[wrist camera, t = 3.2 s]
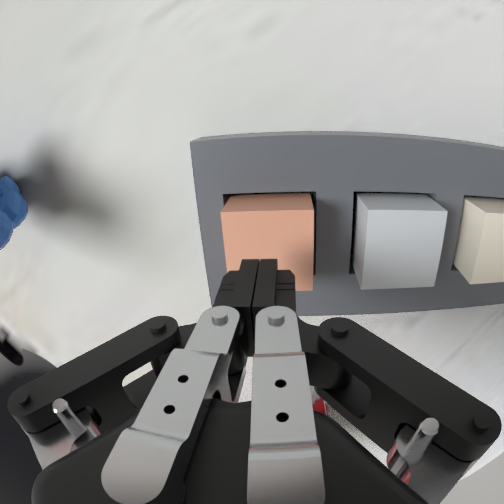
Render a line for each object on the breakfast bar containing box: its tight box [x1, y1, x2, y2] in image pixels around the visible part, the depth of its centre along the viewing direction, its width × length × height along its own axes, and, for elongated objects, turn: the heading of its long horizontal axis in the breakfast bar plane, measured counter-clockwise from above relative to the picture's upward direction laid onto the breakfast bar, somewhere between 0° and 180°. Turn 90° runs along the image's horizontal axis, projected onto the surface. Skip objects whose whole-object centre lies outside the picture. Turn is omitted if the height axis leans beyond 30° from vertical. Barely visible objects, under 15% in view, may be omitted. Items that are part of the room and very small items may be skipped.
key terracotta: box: [220, 193, 314, 291], centre depth 17 cm, size 4×4×3 cm
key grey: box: [352, 193, 448, 290], centre depth 16 cm, size 4×4×3 cm
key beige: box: [453, 196, 504, 284], centre depth 15 cm, size 4×4×3 cm
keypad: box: [190, 131, 504, 316], centre depth 18 cm, size 22×11×2 cm, turn 94°
